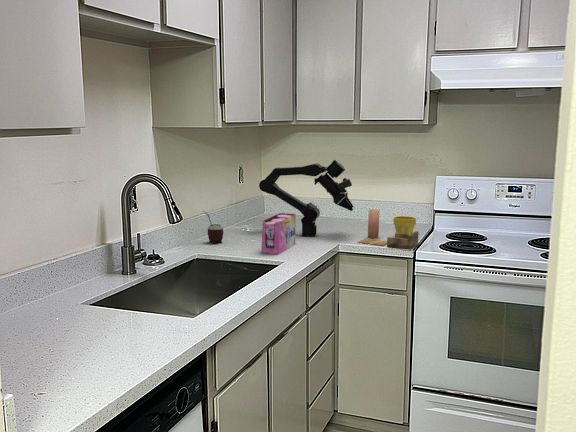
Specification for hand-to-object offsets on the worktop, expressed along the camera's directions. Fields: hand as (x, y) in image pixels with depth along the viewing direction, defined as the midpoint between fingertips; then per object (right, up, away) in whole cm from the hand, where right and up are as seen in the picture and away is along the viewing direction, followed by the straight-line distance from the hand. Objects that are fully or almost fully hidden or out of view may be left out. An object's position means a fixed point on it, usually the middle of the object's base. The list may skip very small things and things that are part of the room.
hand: (352, 208), depth 263 cm
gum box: (-34, -17, -22) cm, 44 cm away
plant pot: (+24, -14, +2) cm, 28 cm away
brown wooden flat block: (+14, -17, -12) cm, 25 cm away
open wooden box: (+20, -17, -16) cm, 30 cm away
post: (+10, -13, +2) cm, 17 cm away
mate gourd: (-63, -16, -13) cm, 66 cm away
